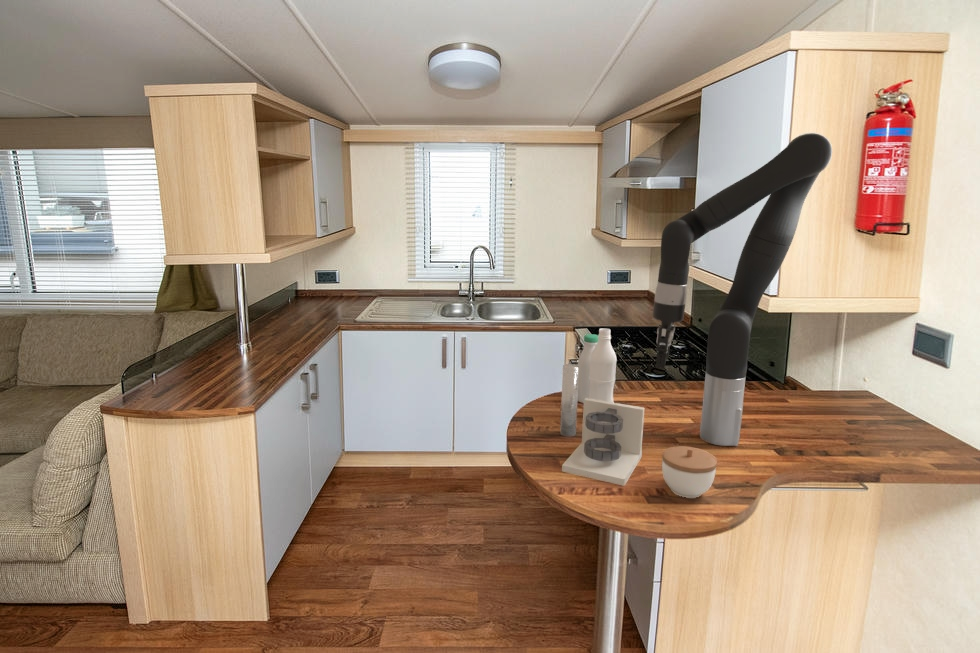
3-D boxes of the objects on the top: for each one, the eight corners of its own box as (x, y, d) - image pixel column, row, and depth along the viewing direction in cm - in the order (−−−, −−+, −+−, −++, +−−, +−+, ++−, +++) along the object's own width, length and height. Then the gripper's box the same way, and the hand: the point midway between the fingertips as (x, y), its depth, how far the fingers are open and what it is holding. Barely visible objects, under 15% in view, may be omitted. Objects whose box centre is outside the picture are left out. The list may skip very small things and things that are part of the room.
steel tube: (577, 432, 152) (581, 365, 148) (572, 437, 149) (575, 369, 145) (563, 429, 154) (565, 363, 150) (557, 434, 151) (560, 367, 147)
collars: (627, 445, 137) (629, 411, 135) (615, 464, 128) (617, 427, 126) (594, 439, 141) (596, 405, 139) (579, 456, 131) (581, 420, 129)
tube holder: (641, 456, 138) (645, 406, 136) (624, 485, 124) (628, 430, 122) (584, 445, 144) (586, 396, 142) (561, 471, 130) (564, 418, 128)
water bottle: (615, 422, 159) (620, 332, 154) (588, 422, 159) (593, 332, 154) (610, 412, 166) (615, 326, 161) (585, 412, 166) (589, 326, 161)
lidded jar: (649, 482, 126) (652, 441, 124) (691, 476, 129) (695, 436, 127) (679, 507, 116) (683, 463, 114) (725, 499, 119) (729, 457, 117)
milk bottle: (606, 403, 174) (610, 337, 169) (582, 405, 172) (585, 339, 167) (594, 395, 181) (598, 331, 177) (571, 397, 179) (574, 333, 174)
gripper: (683, 307, 139) (674, 372, 143) (687, 298, 152) (679, 358, 156) (651, 303, 142) (643, 367, 146) (657, 294, 155) (650, 353, 158)
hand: (661, 362), depth 151 cm, fingers open, 8 cm apart
